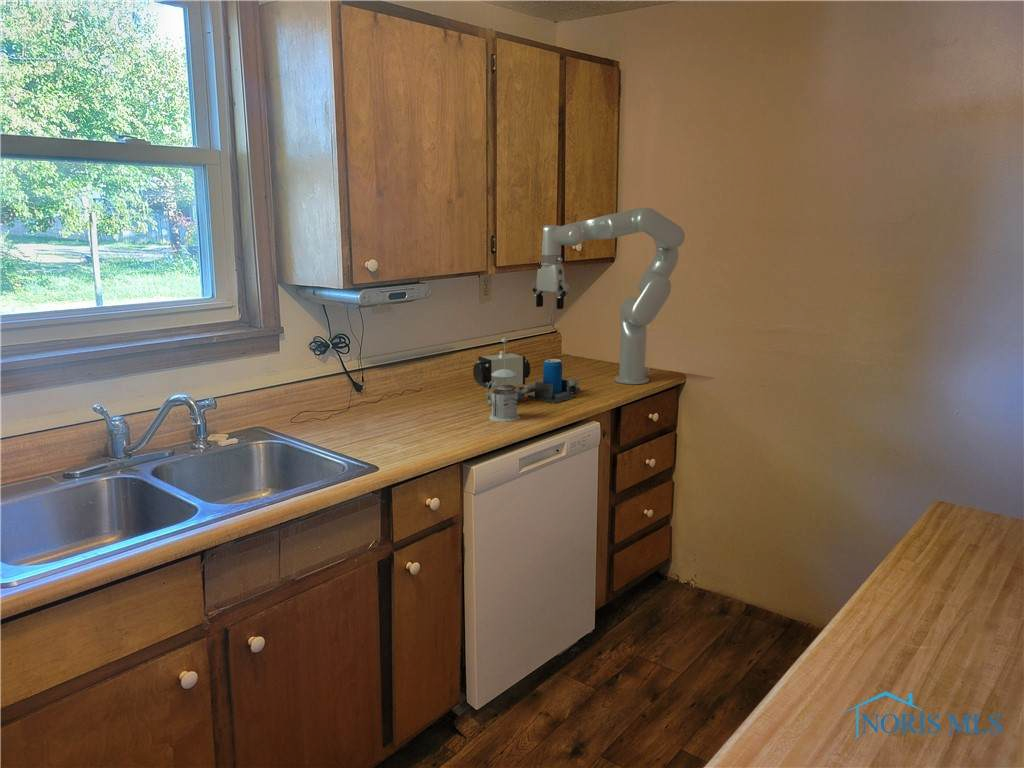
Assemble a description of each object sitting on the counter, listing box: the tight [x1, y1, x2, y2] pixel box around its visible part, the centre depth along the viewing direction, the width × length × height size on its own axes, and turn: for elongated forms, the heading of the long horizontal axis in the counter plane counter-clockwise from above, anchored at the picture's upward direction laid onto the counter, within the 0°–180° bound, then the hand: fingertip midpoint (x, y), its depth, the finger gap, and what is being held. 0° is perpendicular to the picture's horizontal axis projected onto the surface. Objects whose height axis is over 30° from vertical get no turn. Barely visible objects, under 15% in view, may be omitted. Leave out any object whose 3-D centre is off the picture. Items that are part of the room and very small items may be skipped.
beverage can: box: [542, 358, 563, 396], centre depth 260 cm, size 6×6×12 cm
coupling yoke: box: [515, 378, 581, 404], centre depth 262 cm, size 24×15×6 cm, turn 137°
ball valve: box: [472, 350, 531, 405], centre depth 251 cm, size 18×8×18 cm, turn 120°
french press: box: [486, 337, 521, 423], centre depth 233 cm, size 10×12×25 cm
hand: (549, 307), depth 277 cm, fingers open, 9 cm apart
